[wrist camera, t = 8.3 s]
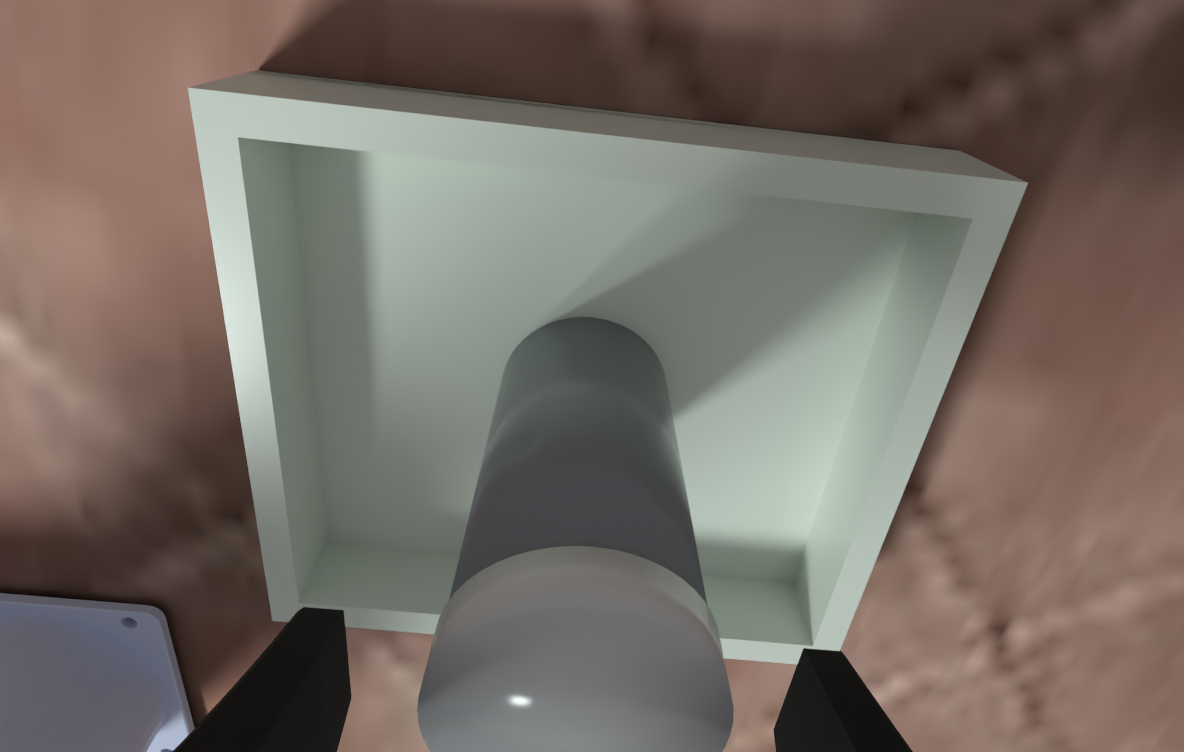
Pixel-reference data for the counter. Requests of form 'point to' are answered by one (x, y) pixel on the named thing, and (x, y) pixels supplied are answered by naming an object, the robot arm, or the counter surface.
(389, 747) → the counter surface
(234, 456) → the counter surface
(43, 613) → the robot arm
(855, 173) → the tray
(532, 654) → the cylinder
